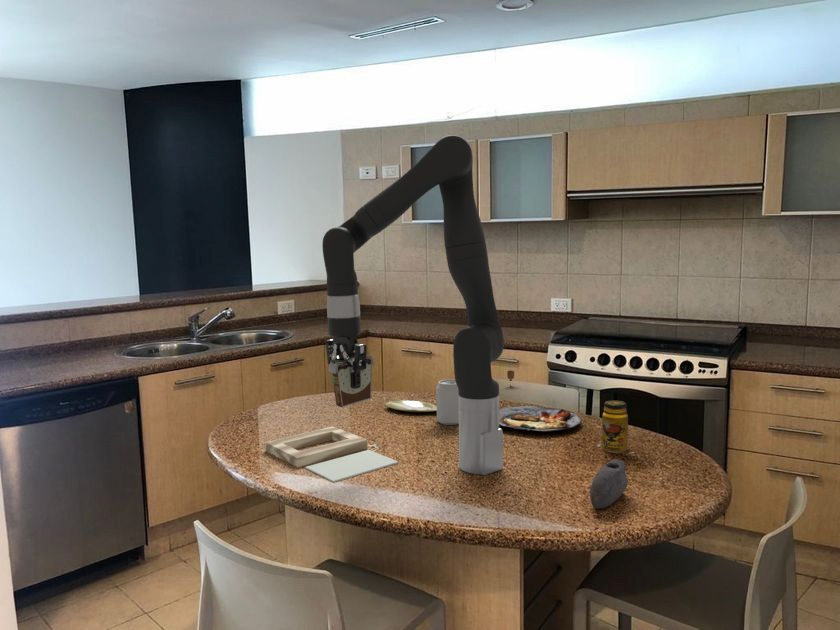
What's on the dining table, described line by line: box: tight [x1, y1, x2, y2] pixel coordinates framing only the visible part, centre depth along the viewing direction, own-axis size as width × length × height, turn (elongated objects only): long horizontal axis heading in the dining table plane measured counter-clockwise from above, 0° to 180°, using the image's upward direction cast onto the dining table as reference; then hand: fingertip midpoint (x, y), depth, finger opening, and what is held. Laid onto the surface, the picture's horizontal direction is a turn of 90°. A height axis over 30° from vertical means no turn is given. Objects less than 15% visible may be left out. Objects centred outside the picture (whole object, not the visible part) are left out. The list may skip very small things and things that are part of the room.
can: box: [435, 379, 459, 426], centre depth 192 cm, size 8×8×12 cm
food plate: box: [499, 405, 583, 433], centre depth 189 cm, size 25×23×4 cm
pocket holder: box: [265, 425, 368, 468], centre depth 170 cm, size 16×20×2 cm
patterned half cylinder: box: [328, 355, 375, 408], centre depth 157 cm, size 12×6×10 cm, turn 140°
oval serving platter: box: [385, 399, 437, 414], centre depth 202 cm, size 35×11×2 cm, turn 62°
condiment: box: [596, 400, 635, 454], centre depth 166 cm, size 7×8×12 cm
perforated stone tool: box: [589, 458, 629, 510], centre depth 135 cm, size 15×5×7 cm, turn 144°
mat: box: [305, 449, 399, 483], centre depth 158 cm, size 12×18×1 cm, turn 130°
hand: (347, 385), depth 157 cm, fingers closed on patterned half cylinder, 6 cm apart
